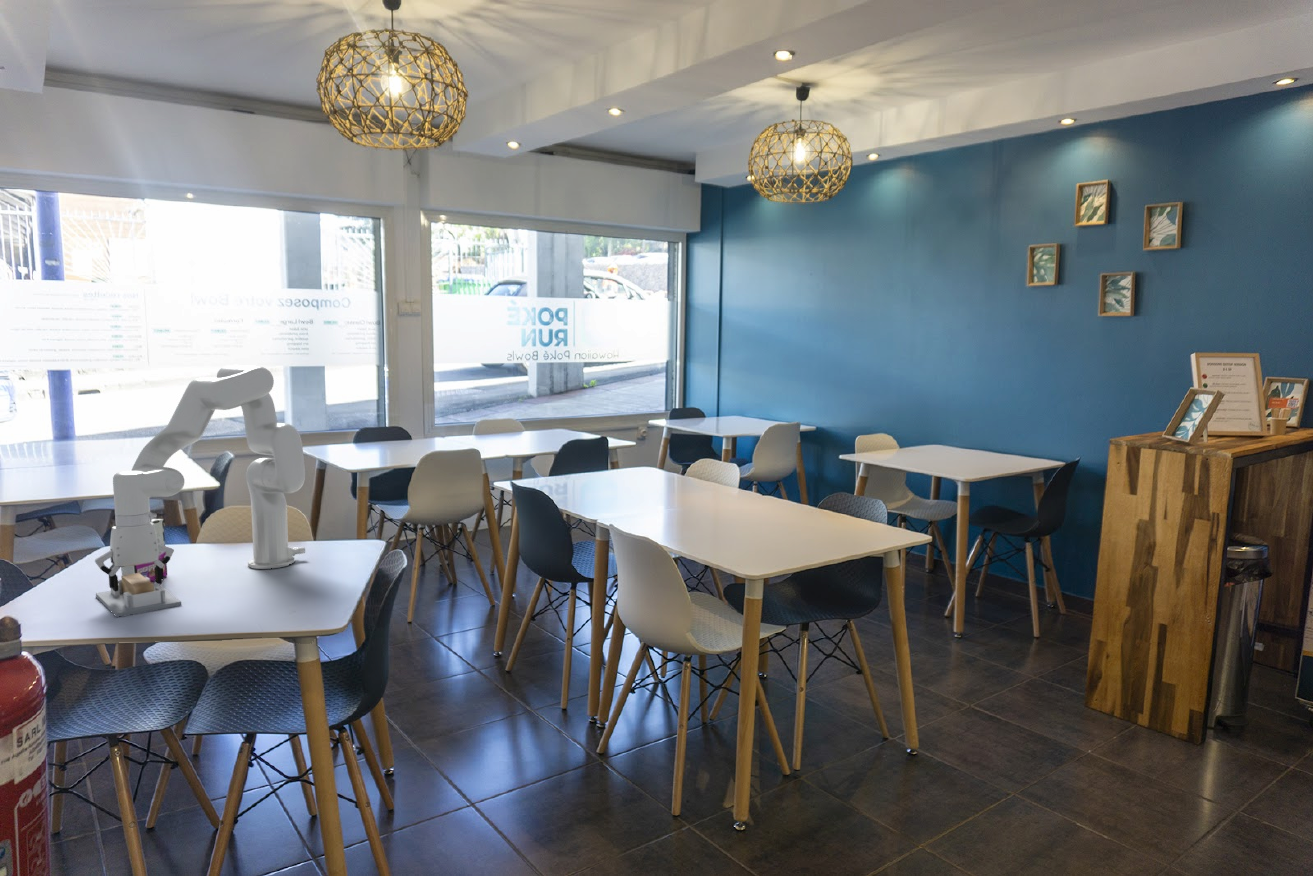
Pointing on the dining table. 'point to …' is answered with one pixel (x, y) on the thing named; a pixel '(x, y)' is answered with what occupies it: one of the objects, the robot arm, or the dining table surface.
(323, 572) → the dining table surface
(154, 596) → the board
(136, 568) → the candy bar box
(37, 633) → the dining table surface
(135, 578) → the oak block
